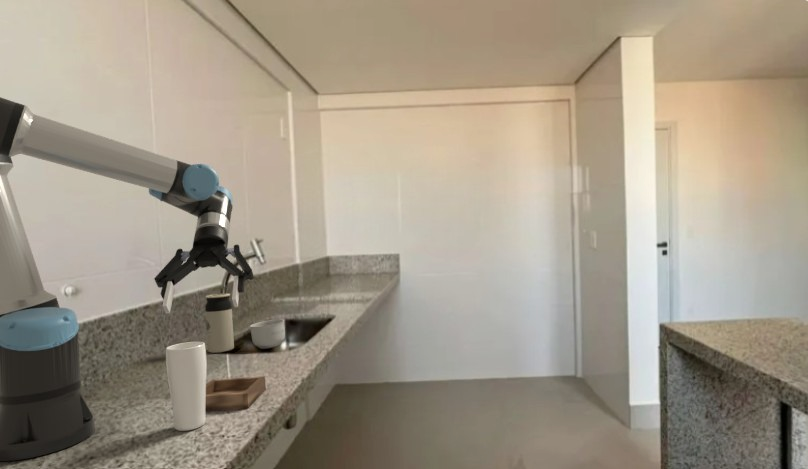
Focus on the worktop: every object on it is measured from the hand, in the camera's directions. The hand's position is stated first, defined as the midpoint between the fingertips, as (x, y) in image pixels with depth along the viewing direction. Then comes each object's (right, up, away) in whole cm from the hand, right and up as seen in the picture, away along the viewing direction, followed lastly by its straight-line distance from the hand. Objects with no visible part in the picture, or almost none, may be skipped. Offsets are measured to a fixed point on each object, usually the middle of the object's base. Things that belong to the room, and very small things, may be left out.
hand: (200, 306), depth 98 cm
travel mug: (-17, -23, +55) cm, 62 cm away
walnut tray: (+5, -21, +3) cm, 21 cm away
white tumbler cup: (+3, -21, -11) cm, 24 cm away
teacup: (-2, -22, +57) cm, 61 cm away
